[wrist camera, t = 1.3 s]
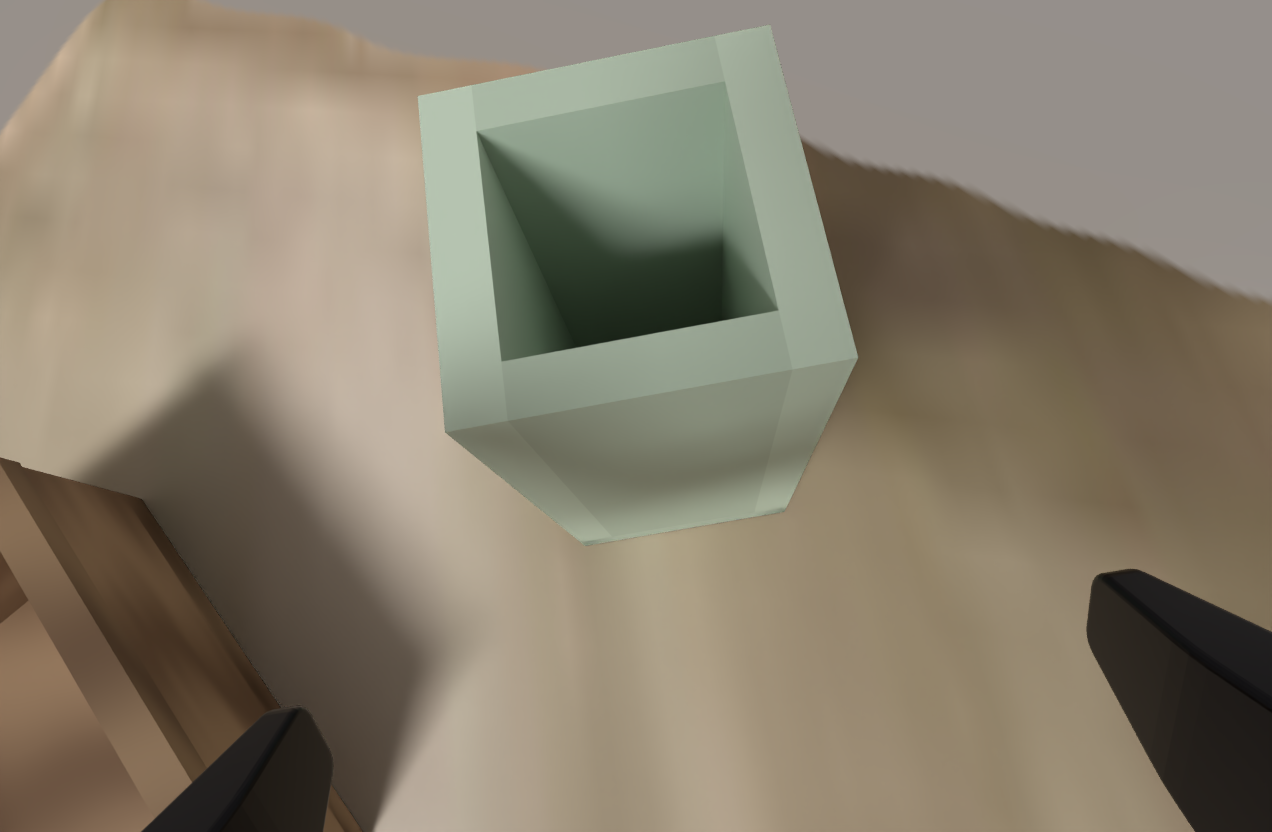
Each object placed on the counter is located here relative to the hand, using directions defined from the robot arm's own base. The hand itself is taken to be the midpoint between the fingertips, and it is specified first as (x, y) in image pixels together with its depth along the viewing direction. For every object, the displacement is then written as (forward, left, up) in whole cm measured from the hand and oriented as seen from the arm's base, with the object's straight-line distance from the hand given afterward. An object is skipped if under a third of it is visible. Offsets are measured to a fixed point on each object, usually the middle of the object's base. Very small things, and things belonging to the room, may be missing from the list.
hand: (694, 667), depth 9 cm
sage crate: (+6, -3, -13) cm, 14 cm away
